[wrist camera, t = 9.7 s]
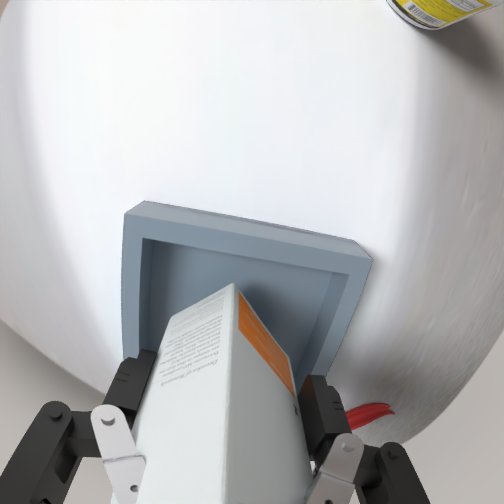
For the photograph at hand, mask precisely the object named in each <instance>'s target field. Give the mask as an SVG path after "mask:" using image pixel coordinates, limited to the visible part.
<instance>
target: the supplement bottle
mask: <svg viewBox="0 0 504 504" xmlns="http://www.w3.org/2000/svg"><path fill="white" fill-rule="evenodd" d="M387 2H388V3H389V4H390V6H391V7H392V8H393V9H394V10H395V11H396V12H397V13H398V14H399V15H400V16H401V17H403V18H404V19H405V20H407V21H408V22H410V23H412V24H413V25H415V26H417V27H420V28H423V29H427V30H439V29H442V28H444V27H447V26H449V25H451V24H454V23H456V22H458V21H460V20H463V19H465V18H468V17H470V16H472V15H475V14H477V13H480V12H483V11H485V10H488V9H491V8H493V7H496V6H499V5H502V4H504V0H387Z"/></svg>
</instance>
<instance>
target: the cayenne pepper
mask: <svg viewBox="0 0 504 504" xmlns="http://www.w3.org/2000/svg"><path fill="white" fill-rule="evenodd" d="M389 407H391V406H390V405H387V404H383V403H372V404H367V405H363V406H360V407H357V408H355V409H352V410H350V411H348V412H345V413H346V416H347V419H348V422H349V425H350V429H351V430H354V429H357V428H359V427H361V426H364V425H366V424H368V423H370V422H372V421H373V420H375V419H377V418H379V417H381V416H384V415H388V414H395V413H394V412H392V411H390V410H389V409H388V408H389Z"/></svg>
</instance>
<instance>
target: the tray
mask: <svg viewBox="0 0 504 504" xmlns="http://www.w3.org/2000/svg"><path fill="white" fill-rule="evenodd" d="M372 262H373V259H372V258H371V257H370V256H369V255H368V254H367V253H366V252H365V251H364V250H363V249H362V248H361V247H360V246H359V245H358V244H357V243H356V242H355V241H354V240H350V239H346V238H341V237H336V236H332V235H327V234H322V233H317V232H312V231H308V230H303V229H298V228H293V227H288V226H283V225H278V224H273V223H267V222H262V221H257V220H252V219H247V218H241V217H236V216H230V215H225V214H219V213H214V212H208V211H203V210H197V209H191V208H185V207H180V206H174V205H168V204H162V203H155V202H149V201H143V202H141V203H140V204H138V205H137V206H135V207H133V208H132V209H130V210H129V211H127V212H126V213H124V226H123V243H122V269H121V316H122V342H123V359H124V360H125V359H126V358H128V357H132V358H136V359H137V357H138V354H139V352H140V350H141V349H146V350H150V351H155V352H157V353H158V350H159V347H160V345H161V342H162V339H163V337H164V334H165V331H166V328H167V326H168V323H169V321H170V319H171V317H172V316H173V315H175V314H177V313H179V312H181V311H183V310H184V309H186V308H188V307H190V306H192V305H194V304H196V303H198V302H199V301H201V300H203V299H205V298H207V297H208V296H210V295H212V294H214V293H216V292H217V291H219V290H221V289H222V288H224V287H226V286H227V285H229V284H231V283H235V284H236V285H237V286H238V287H239V289H240V290H241V292H242V294H243V295H244V296H245V298H246V299H247V301H248V302H249V304H250V305H251V307H252V308H253V310H254V311H255V312H256V314H257V315H258V317H259V318H260V320H261V321H262V323H263V324H264V325H265V327H266V328H267V329H268V331H269V332H270V333H271V335H272V336H273V337H274V339H275V340H276V341H277V343H278V344H279V345H280V347H281V348H282V349H283V351H284V352H285V353H286V354H287V355H288V357H289V358H290V363H291V368H292V373H293V378H294V383H295V388H296V393H297V397H298V394H299V392H300V390H301V387H302V385H303V383H304V381H305V378H306V376H307V375H308V374H311V375H323V376H324V377H326V375H327V373H328V371H329V368H330V366H331V364H332V362H333V360H334V358H335V355H336V353H337V351H338V349H339V346H340V344H341V342H342V339H343V337H344V335H345V332H346V330H347V328H348V325H349V323H350V320H351V318H352V315H353V313H354V310H355V308H356V305H357V303H358V300H359V298H360V295H361V292H362V290H363V287H364V284H365V282H366V279H367V276H368V273H369V270H370V267H371V265H372Z"/></svg>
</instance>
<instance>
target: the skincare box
mask: <svg viewBox="0 0 504 504" xmlns="http://www.w3.org/2000/svg"><path fill="white" fill-rule="evenodd" d="M131 435H132V437H133V440H134V442H135V445H136V449H135V452H134V454H135V455H141V456H142V457H143V459H144V461H145V463H146V467H145V471H144V475H143V479H142V482H141V486H140V490H139V487H133V488H132V490H131V491H132V492H138V491H139V494H138V497H137V502H136V504H304V502H305V500H304V499H303V498H304V495H305V492H306V490H307V488H308V487H309V485H310V484H311V483H312V482H313V475H312V470H311V464H310V459H309V454H308V449H307V443H306V438H305V432H304V427H303V423H302V418H301V413H300V408H299V403H298V398H297V393H296V388H295V383H294V378H293V373H292V368H291V363H290V358H289V357H288V355H287V354H286V353H285V352H284V351H283V349H282V348H281V347H280V345H279V344H278V343H277V341H276V340H275V339H274V337H273V336H272V335H271V333H270V332H269V331H268V329H267V328H266V327H265V325H264V324H263V323H262V321H261V320H260V318H259V317H258V315H257V314H256V312H255V311H254V310H253V308H252V307H251V305H250V304H249V302H248V301H247V299H246V298H245V296H244V295H243V294H242V292H241V290H240V289H239V287H238V286H237V285H236V284H235V283H231V284H229V285H227V286H226V287H224V288H222V289H221V290H219V291H217V292H216V293H214V294H212V295H210V296H208V297H207V298H205V299H203V300H201V301H199V302H198V303H196V304H194V305H192V306H190V307H188V308H186V309H184V310H183V311H181V312H179V313H177V314H175V315H173V316H172V317H171V319H170V321H169V323H168V326H167V328H166V331H165V334H164V337H163V339H162V342H161V345H160V347H159V350H158V353H157V356H156V359H155V362H154V365H153V367H152V370H151V373H150V376H149V379H148V382H147V385H146V388H145V391H144V394H143V397H142V400H141V403H140V406H139V409H138V412H137V415H136V418H135V421H134V424H133V427H132V430H131ZM110 504H119V503H118V501H117V499H116V496H115V494H114V491H113V494H112V498H111V502H110Z"/></svg>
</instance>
